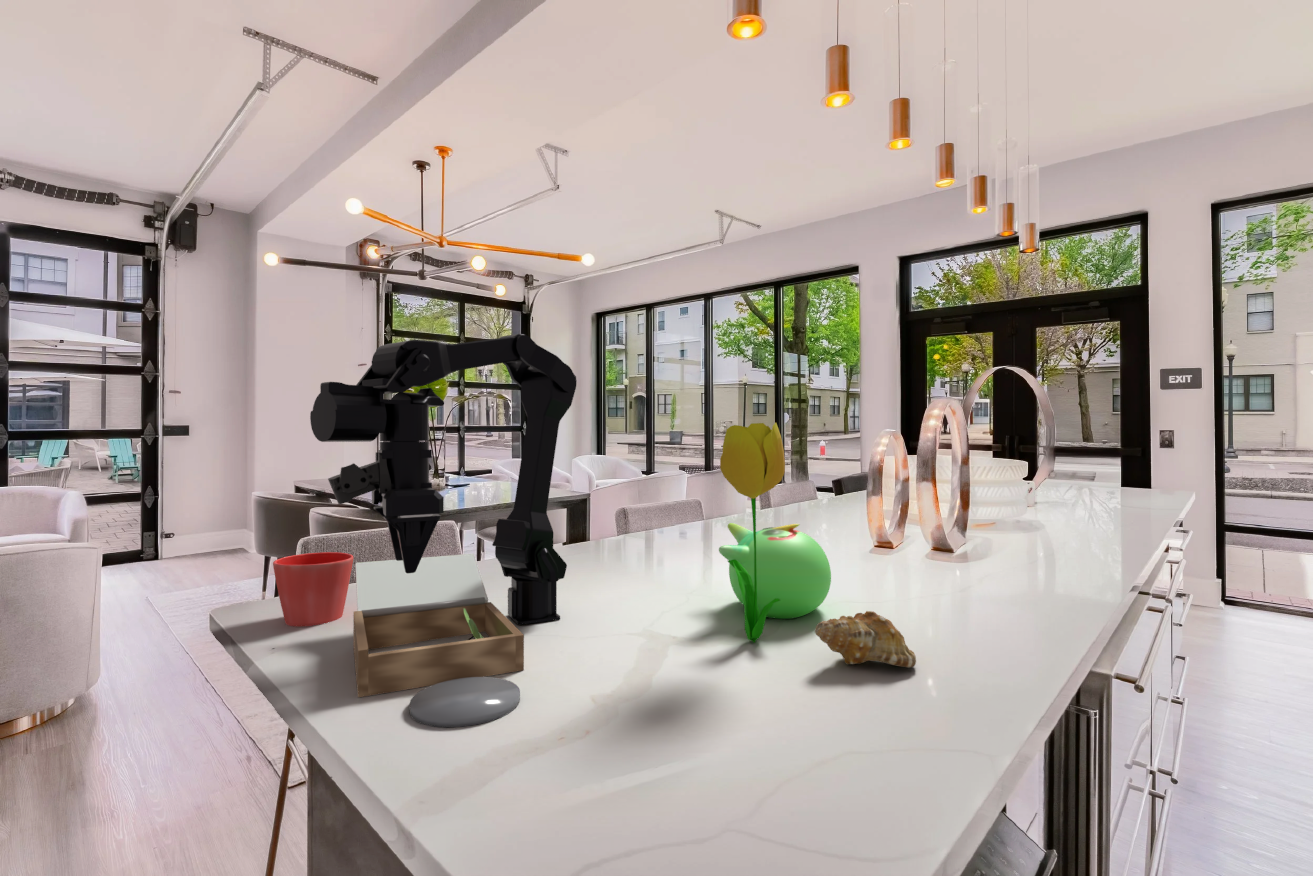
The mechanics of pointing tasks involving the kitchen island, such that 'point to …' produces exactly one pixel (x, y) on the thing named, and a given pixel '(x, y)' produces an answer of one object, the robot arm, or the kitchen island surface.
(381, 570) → the lid
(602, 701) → the kitchen island surface
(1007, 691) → the kitchen island surface
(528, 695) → the kitchen island surface
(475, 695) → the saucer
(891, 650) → the seashell
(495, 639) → the box
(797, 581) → the round green toy
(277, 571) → the flower pot
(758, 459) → the flower
